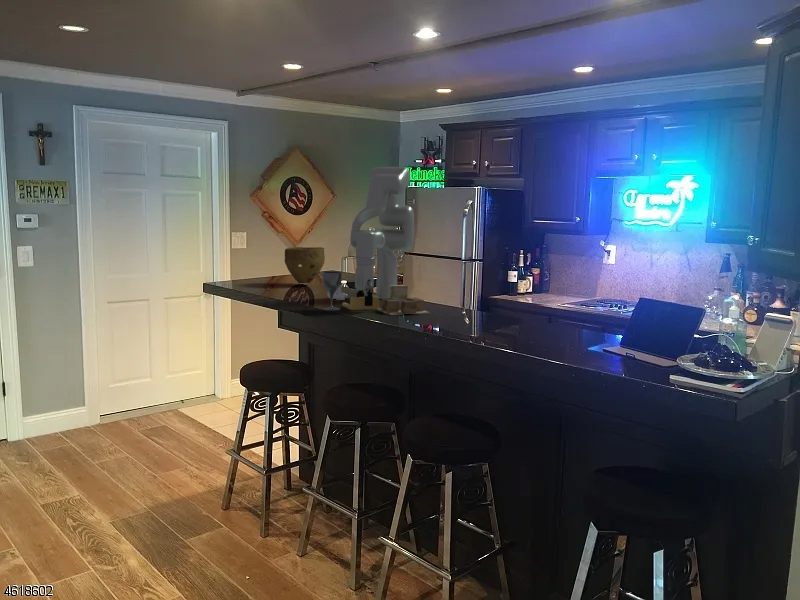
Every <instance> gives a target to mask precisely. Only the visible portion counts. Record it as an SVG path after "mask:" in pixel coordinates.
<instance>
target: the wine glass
mask: <svg viewBox="0 0 800 600" xmlns="http://www.w3.org/2000/svg"><path fill="white" fill-rule="evenodd" d="M321 279H322V284H323V287H324V289H325V290H326V291H327V293H328V292H329V294H330V298H329V299H330V304H329V306H328V307H324V308H322V310H323V311H340V310H341V309H340V308H339V307H335V306H333V301H334V300H333V295H334V293H335V292H336V290H337V289H338V288H339V287H341V285H342V281H343V280H342V279H343V271H339V270H338V271H336V270H323V271H322V272H321Z"/></svg>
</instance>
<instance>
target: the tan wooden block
mask: <svg viewBox="0 0 800 600" xmlns="http://www.w3.org/2000/svg"><path fill="white" fill-rule="evenodd" d="M341 302H342V307H343V308H345V307H346V308H345V309H348V310H351V311H360V310H361V311H363V310H366V311H367V310H377V308H380V299H379V297H373V305H372V306H365V296H364V297H357V296H350V297H349V303H347V302H343V301H341Z"/></svg>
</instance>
